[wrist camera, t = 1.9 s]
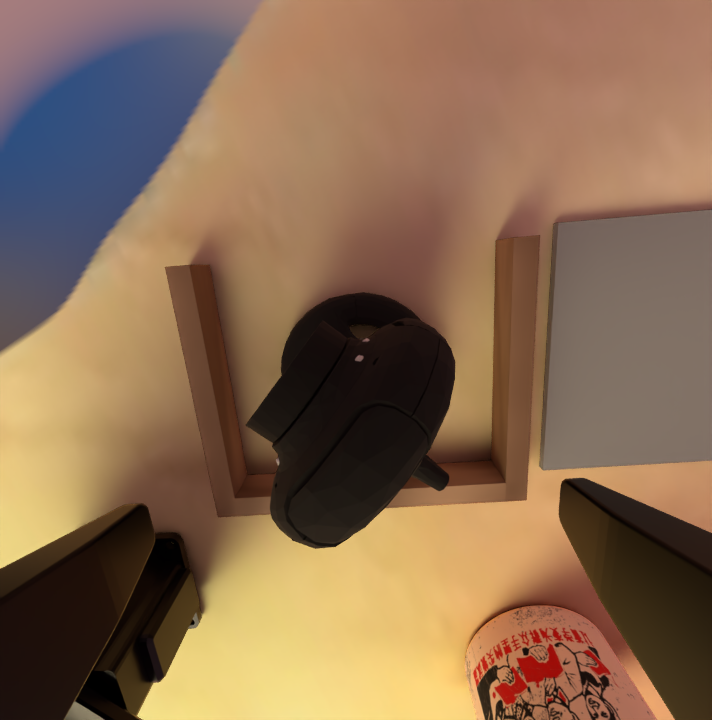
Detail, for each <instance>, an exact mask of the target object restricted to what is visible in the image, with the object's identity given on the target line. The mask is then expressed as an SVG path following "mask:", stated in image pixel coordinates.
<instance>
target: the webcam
mask: <svg viewBox="0 0 712 720" xmlns="http://www.w3.org/2000/svg"><path fill="white" fill-rule="evenodd" d="M357 324H361V325H371V326H375V327H378V328H380V329H379V330H378V331H376V332H375V333H374V334H372V335H371V336H370V337H368V338H365V339H358V338H357V337H355V336H354V335H353V334H352V332H351V331H350V329H349V326H352V325H357ZM281 373H282V376H281V377H280V379H279V380H278V382H277V383H276V384H275V386H274V387H273V388H272V390H271V391H270V392H269V394H268V395H267V397H266V398H265V399H264V401H263V402H262V403H261V405H260V406H259V407H258V409H257V410H256V412H255V413H254V414H253V416H252V417H251V418H250V420H249V421H248V423H247V424H246V426H247V427H249V428H251V429H252V430H254V431H255V432H257V433H258V434H260V435H261V436H263V437H264V438H266V439H268V440H269V441H271V442H272V443H273V445H272V447H273V448H274V450H275V451H276V452H277V453H278V458H277V459H276V462H277V464H278V469H277V471H276V474H275V477H274V481H273V486H272V492H271V500H270V512H271V516H272V519H273V521H274V522H275V523H276V525H277V526H278V527H279V529H280V530H281V531H283V532H284V533H285V534H286V535H287V536H288V537H290V538H291V539H292V540H293V541H296V542H298V543H301V544H304V545H307V546H309V547H312V548H315V549H316V548H327V547H336V546H337V545H339V544H341V543H342V542H344V541H345V540H347V539H348V538H350V537H351V536H352V535H353V534H355V533H357V532H358V531H360V530H361V529H363V528H365V527H366V526H367V525H368V524H369V523H370V522H371V521H372V520H373V519H374V518H375V517H376V516H377V515H378V514H379V513H380V512H381V511H382V510H383V509H384V508H385V507H387V506H388V505H389V503H390V502H391V501H392V500H393V498H394V497H395V496H396V495H397V494H398V492H399V491H400V490H401V489H402V488H403V486H404V485H405V484H406V483H407V481H408V480H409V479H410V477H413V478H416V479H418V480H420V481H421V482H423V483H425V484H427V485H428V486H430V487H432V488H434V489H435V490H437V491H442V490H444V489H445V487H446V486H447V484H448V482H449V474H448V473H447V472H445V471H444V470H443V469H442V468H441V467H440V466H438V465H437V464H436V463H435V462H434V461H433V460H431V459H430V458H429V457H428V456H427V455H426V454H427V452H428V451H429V450H430V448H431V446H432V444H433V442H434V439H435V437H436V435H437V433H438V431H439V428H440V426H441V424H442V422H443V420H444V417H445V415H446V413H447V411H448V409H449V405H450V400H451V395H452V390H453V385H454V380H455V360H454V357H453V354H452V351H451V348H450V347H449V345H448V343H447V341H446V340H445V339H444V338H443V337H442V336H441V335H440V334H439V333H438V332H437V331H436V330H435V329H434V328H432V327H431V326H429V325H427V324H425V323H424V322H422V321H421V320H420V319H419V318H418V317H417V316H416V315H415V313H414V312H412V311H411V310H409V309H408V308H407V307H405V306H404V305H402V304H400V303H399V302H397V301H395V300H393V299H390V298H387V297H385V296H382V295H376V294H370V293H356V294H347V295H343V296H338V297H334V298H330V299H328V300H326V301H324V302H322V303H321V304H319V305H317V306H315V307H314V308H313V309H311V310H310V311H309V312H307V313H306V314H305V315H304V316H303V317H302V318H301V320H300V321H299V322H298V323H297V324H296V325H295V327H294V328H293V330H292V331H291V333H290V335H289V337H288V339H287V341H286V344H285V347H284V351H283V355H282V361H281Z"/></svg>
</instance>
